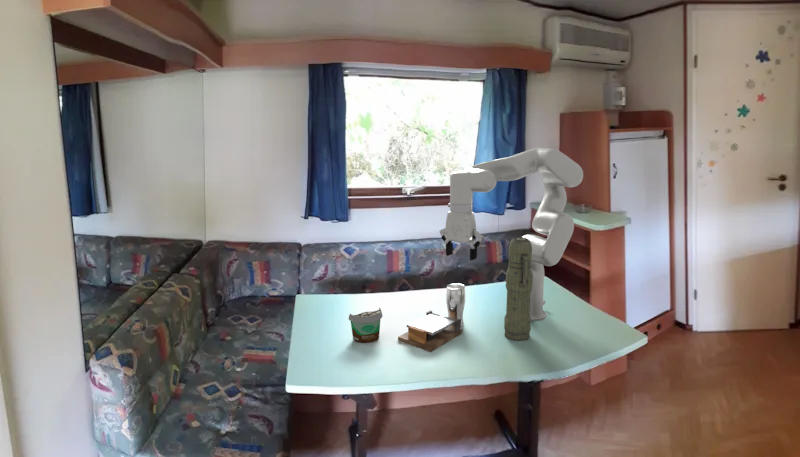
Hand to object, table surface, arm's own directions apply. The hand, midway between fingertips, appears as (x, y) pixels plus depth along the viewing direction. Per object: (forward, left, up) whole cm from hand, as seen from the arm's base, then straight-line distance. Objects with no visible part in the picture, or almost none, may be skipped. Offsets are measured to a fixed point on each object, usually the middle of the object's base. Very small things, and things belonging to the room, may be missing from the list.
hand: (461, 256), depth 174 cm
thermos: (-10, +17, -28) cm, 34 cm away
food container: (+25, -21, -28) cm, 43 cm away
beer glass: (-5, -5, -28) cm, 29 cm away
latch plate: (+9, -6, -28) cm, 30 cm away
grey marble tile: (+9, -6, -24) cm, 26 cm away
